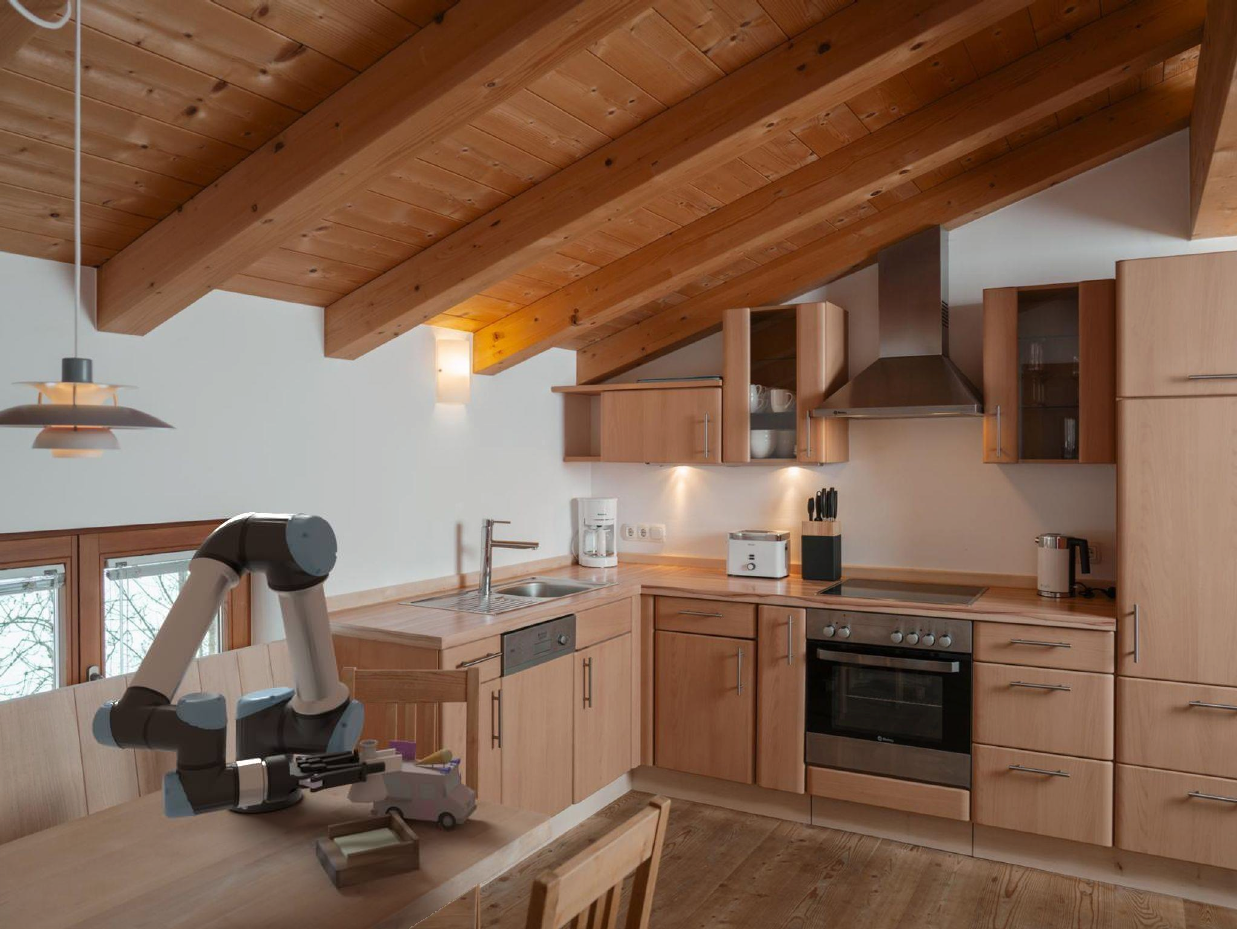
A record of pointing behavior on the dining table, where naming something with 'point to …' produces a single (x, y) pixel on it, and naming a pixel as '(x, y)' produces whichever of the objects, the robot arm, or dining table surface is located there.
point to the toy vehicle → (426, 788)
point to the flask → (368, 779)
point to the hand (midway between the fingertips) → (397, 759)
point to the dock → (368, 849)
